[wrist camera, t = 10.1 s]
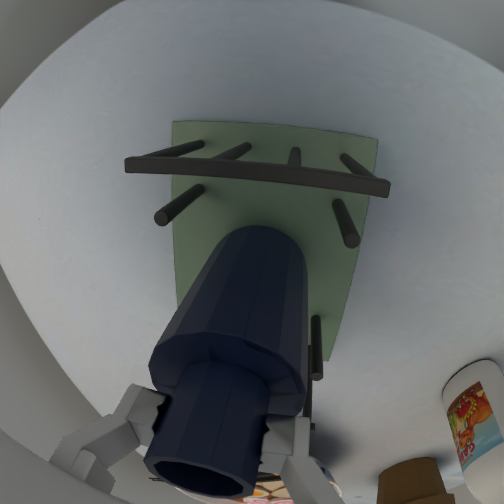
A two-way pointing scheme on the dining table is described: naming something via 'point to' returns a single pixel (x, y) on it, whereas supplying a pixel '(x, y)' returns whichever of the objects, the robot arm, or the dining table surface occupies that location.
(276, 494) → the ramen bowl
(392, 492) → the flowerpot
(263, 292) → the bottle
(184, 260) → the rack
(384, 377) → the dining table surface
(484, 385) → the milk bottle
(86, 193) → the dining table surface
